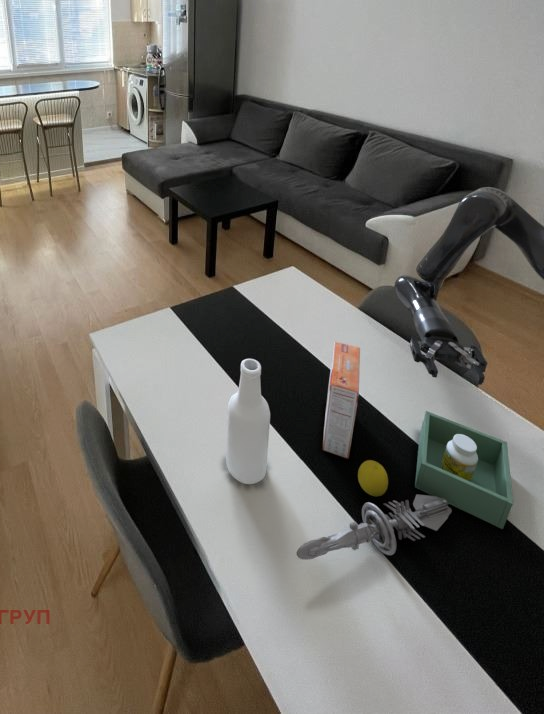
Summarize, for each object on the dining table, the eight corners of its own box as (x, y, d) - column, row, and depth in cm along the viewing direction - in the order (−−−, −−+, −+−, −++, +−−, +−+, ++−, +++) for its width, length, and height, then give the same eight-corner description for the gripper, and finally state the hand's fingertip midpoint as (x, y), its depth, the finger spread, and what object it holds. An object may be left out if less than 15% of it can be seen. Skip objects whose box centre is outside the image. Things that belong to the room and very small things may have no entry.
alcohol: (273, 465, 96) (282, 363, 85) (252, 495, 91) (259, 390, 80) (240, 440, 102) (244, 342, 91) (218, 467, 96) (220, 366, 85)
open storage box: (497, 466, 93) (506, 442, 91) (502, 529, 82) (513, 504, 80) (419, 433, 101) (425, 410, 98) (414, 487, 90) (421, 463, 87)
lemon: (352, 475, 93) (357, 450, 90) (380, 480, 92) (386, 454, 89) (359, 502, 88) (364, 476, 85) (388, 507, 87) (394, 481, 84)
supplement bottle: (477, 483, 90) (488, 452, 86) (455, 489, 89) (465, 457, 85) (455, 459, 95) (465, 428, 91) (434, 464, 94) (443, 433, 90)
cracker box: (325, 403, 110) (334, 339, 103) (351, 411, 108) (361, 346, 100) (320, 450, 99) (329, 383, 91) (348, 460, 96) (360, 392, 89)
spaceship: (282, 516, 80) (309, 550, 72) (429, 472, 89) (466, 498, 81) (285, 559, 79) (313, 598, 72) (431, 510, 89) (470, 540, 81)
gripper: (404, 313, 109) (424, 359, 95) (470, 321, 105) (500, 371, 91) (400, 336, 112) (418, 385, 98) (463, 344, 108) (492, 397, 94)
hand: (457, 378), depth 94 cm, fingers open, 8 cm apart
